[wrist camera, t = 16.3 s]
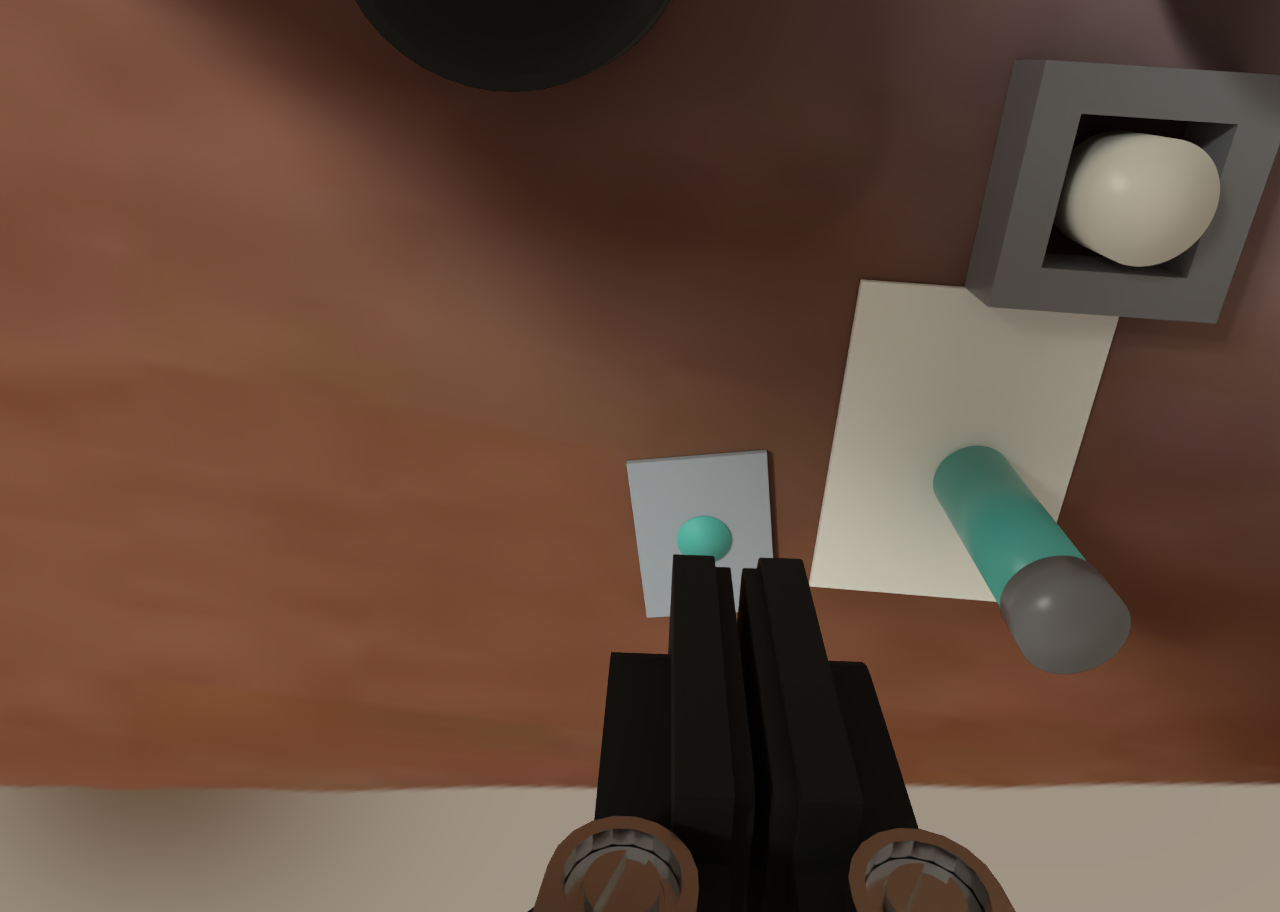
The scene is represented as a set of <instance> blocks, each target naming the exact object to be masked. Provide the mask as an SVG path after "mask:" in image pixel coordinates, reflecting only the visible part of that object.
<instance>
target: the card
mask: <svg viewBox="0 0 1280 912" xmlns="http://www.w3.org/2000/svg"><path fill="white" fill-rule="evenodd" d="M627 472H628V479H629V486H630V494H631V501H632V509H633V516H634V524H635V531H636V539H637V546H638V554H639V561H640V569H641V576H642V584H643V591H644V599H645V606H646V614H647V618H649V617H665V616H670V605H671V584H672V563H673V554H680V555H707V556H714V557H715V566H716V567H730V568H731V575H732V584H733V593H734V602H735V610H736V612H738V607H739V596H740V585H741V575H742V569H743V568H757V563H758V559H759V558H773V550H772V533H771V516H770V499H769V482H768V465H767V451H766V450H757V451H745V452H732V453H720V454H707V455H695V456H682V457H670V458H657V459H645V460H632V461H627Z"/></svg>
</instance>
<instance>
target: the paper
mask: <svg viewBox="0 0 1280 912" xmlns="http://www.w3.org/2000/svg"><path fill="white" fill-rule="evenodd" d="M1118 319H1119V317H1118V316H1104V315H1091V314H1077V313H1063V312H1050V311H1036V310H1022V309H1009V308H995V307H987V306H986V305H985V304H984V303H983V302H982V301H980V300H979V299H978V298H977V297H976V296H974V295H973V294H972V293H971V292H970V291H968V290H967V289H966V288H965V287H961V286H947V285H933V284H919V283H906V282H892V281H878V280H864V279H860V285H859V291H858V297H857V302H856V308H855V314H854V320H853V326H852V332H851V338H850V344H849V350H848V355H847V361H846V367H845V373H844V379H843V385H842V391H841V397H840V403H839V408H838V414H837V420H836V426H835V432H834V438H833V444H832V450H831V456H830V462H829V467H828V473H827V479H826V485H825V491H824V497H823V503H822V509H821V515H820V520H819V526H818V532H817V538H816V544H815V550H814V556H813V562H812V568H811V573H810V579H809V585H810V586H812V587H824V588H836V589H848V590H861V591H873V592H885V593H897V594H909V595H921V596H933V597H945V598H957V599H970V600H982V601H994V602H997V601H996V600H995V598H994V596H993V594H992V593H991V591H990V589H989V587H988V586H987V584H986V582H985V581H984V579H983V577H982V575H981V574H980V572H979V570H978V568H977V567H976V565H975V563H974V562H973V560H972V558H971V556H970V555H969V553H968V551H967V549H966V548H965V546H964V544H963V542H962V541H961V539H960V537H959V536H958V534H957V532H956V530H955V529H954V527H953V525H952V523H951V522H950V520H949V518H948V516H947V515H946V513H945V511H944V510H943V508H942V506H941V504H940V503H939V501H938V499H937V497H936V496H935V493H934V489H933V479H934V475H935V472H936V470H937V468H938V467H939V465H940V464H941V462H942V461H943V460H944V459H945V458H946V457H948V456H949V455H950V454H952V453H953V452H955V451H957V450H959V449H962V448H965V447H969V446H986V447H990V448H993V449H995V450H997V451H998V452H1000V453H1001V454H1002V455H1003V456H1004V457H1005V458H1006V460H1007V461H1008V462H1009V463H1010V465H1011V466H1012V467H1013V468H1014V470H1015V471H1016V472H1017V473H1018V475H1019V476H1020V477H1021V479H1022V480H1023V481H1024V482H1025V484H1026V485H1027V486H1028V487H1029V489H1030V490H1031V491H1032V492H1033V494H1034V495H1035V496H1036V498H1037V499H1038V500H1039V501H1040V503H1041V504H1042V505H1043V506H1044V508H1045V509H1046V510H1047V511H1048V513H1049V514H1050V515H1051V517H1052V518H1053V519H1054V520H1055V522H1056V523H1057V520H1058V517H1059V513H1060V510H1061V507H1062V503H1063V500H1064V497H1065V494H1066V490H1067V487H1068V484H1069V480H1070V477H1071V474H1072V471H1073V467H1074V464H1075V461H1076V457H1077V454H1078V451H1079V447H1080V444H1081V441H1082V438H1083V434H1084V431H1085V428H1086V424H1087V421H1088V418H1089V415H1090V411H1091V408H1092V405H1093V401H1094V398H1095V395H1096V392H1097V388H1098V385H1099V382H1100V378H1101V375H1102V372H1103V368H1104V365H1105V362H1106V359H1107V355H1108V352H1109V349H1110V345H1111V342H1112V339H1113V336H1114V332H1115V329H1116V326H1117V322H1118Z"/></svg>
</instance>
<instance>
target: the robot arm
mask: <svg viewBox="0 0 1280 912" xmlns="http://www.w3.org/2000/svg"><path fill="white" fill-rule="evenodd" d="M528 912H1015V910H1014V908H1013V906H1012V904H1011V903H1010V901H1009V899H1008V897H1007V895H1006V894H1005V892H1004V890H1003V888H1002V887H1001V885H1000V883H999V882H998V881H997V879H996V878H995V877H994V875H993V874H992V873H991V871H990V870H989V868H988V867H987V866H986V865H985V864H984V863H983V862H982V861H981V860H980V859H978V858H977V857H976V856H975V855H974V854H972V853H971V852H970V851H969V850H968V849H967V848H965V847H963V846H961V845H959V844H958V843H956V842H954V841H952V840H950V839H948V838H946V837H945V836H942V835H939V834H935V833H932V832H928V831H925V830H921V829H919V828H918V825H917V823H916V819H915V816H914V813H913V809H912V806H911V803H910V800H909V797H908V793H907V790H906V787H905V784H904V781H903V777H902V774H901V771H900V768H899V765H898V762H897V758H896V755H895V752H894V749H893V746H892V742H891V739H890V736H889V733H888V730H887V726H886V723H885V720H884V717H883V714H882V711H881V707H880V704H879V701H878V698H877V695H876V691H875V688H874V685H873V682H872V679H871V675H870V673H869V670H868V668H867V666H866V665H865V664H864V663H863V662H847V661H828V659H827V655H826V651H825V647H824V643H823V639H822V635H821V631H820V627H819V623H818V619H817V615H816V611H815V607H814V603H813V599H812V595H811V591H810V587H809V583H808V579H807V576H806V572H805V568H804V564H803V561H802V560H801V559H787V558H759V559H758V563H757V568H743V569H742V575H741V585H740V596H739V607H738V618H737V619H736V610H735V602H734V593H733V584H732V575H731V568H730V567H716V566H715V557H714V556H707V555H680V554H673V563H672V584H671V605H670V627H669V648H668V654H645V653H620V652H611V658H610V666H609V676H608V687H607V697H606V707H605V717H604V727H603V737H602V748H601V758H600V768H599V778H598V788H597V799H596V810H595V819H594V821H591V822H589V823H587V824H585V825H584V826H582V827H580V828H578V829H576V830H574V831H573V832H572V833H571V834H570V835H569V836H568V837H567V838H566V839H565V840H563V841H562V842H561V843H560V844H559V845H558V847H557V848H556V850H555V852H554V854H553V856H552V858H551V860H550V862H549V864H548V866H547V869H546V872H545V875H544V878H543V881H542V884H541V887H540V890H539V894H538V897H537V900H536V903H535V906H534V907H533V908H532V909H531V910H529V911H528Z"/></svg>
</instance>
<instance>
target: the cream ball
mask: <svg viewBox="0 0 1280 912" xmlns="http://www.w3.org/2000/svg"><path fill="white" fill-rule="evenodd" d="M1219 196H1220V180H1219V174H1218V171H1217V168H1216V166H1215V164H1214V162H1213V160H1212V159H1211V158H1210V156H1209V155H1208V154H1207V153H1206V152H1205V151H1204V150H1203V149H1201V148H1200V147H1198V146H1197V145H1195V144H1193V143H1191V142H1188V141H1184V140H1180V139H1174V138H1168V137H1162V136H1156V135H1150V134H1144V133H1138V132H1132V131H1125V130H1114V131H1107V132H1103V133H1099V134H1097V135H1094V136H1092V137H1090V138H1088V139H1086V140H1084V141H1083V142H1081V143H1080V144H1078V145H1077V146H1076V147H1075V148H1074V149H1072V152H1071V155H1070V159H1069V163H1068V167H1067V171H1066V175H1065V179H1064V183H1063V186H1062V190H1061V194H1060V198H1059V202H1058V206H1057V210H1056V214H1055V217H1054V221H1053V222H1054V224H1055V226H1056V227H1057V229H1058V230H1059V231H1060V232H1061V233H1062V234H1063V235H1064V236H1065V237H1067V238H1068V239H1070V240H1072V241H1074V242H1076V243H1078V244H1080V245H1082V246H1084V247H1086V248H1088V249H1090V250H1093V251H1095V252H1097V253H1099V254H1101V255H1103V256H1105V257H1107V258H1109V259H1111V260H1113V261H1116V262H1118V263H1120V264H1124V265H1128V266H1135V267H1143V266H1152V265H1156V264H1160V263H1163V262H1165V261H1168V260H1170V259H1172V258H1174V257H1176V256H1178V255H1180V254H1181V253H1183V252H1184V251H1186V250H1187V249H1188V248H1189V247H1191V246H1192V245H1193V244H1194V243H1195V242H1196V241H1197V240H1198V239H1199V238H1200V237H1201V235H1202V234H1203V233H1204V232H1205V230H1206V229H1207V227H1208V226H1209V224H1210V222H1211V221H1212V219H1213V217H1214V214H1215V212H1216V209H1217V206H1218V202H1219Z"/></svg>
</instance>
